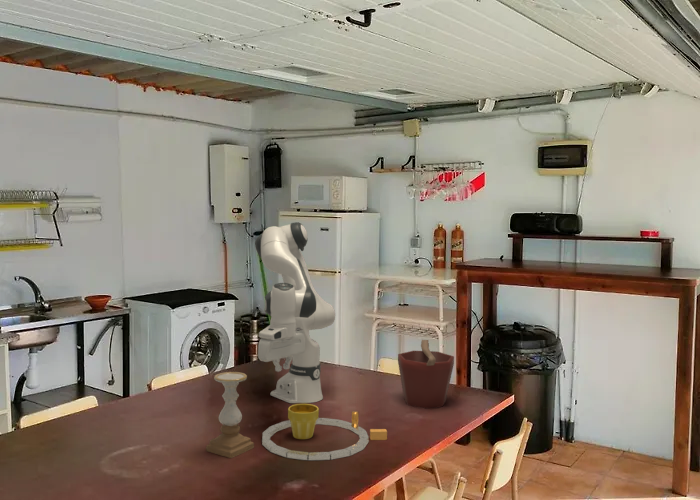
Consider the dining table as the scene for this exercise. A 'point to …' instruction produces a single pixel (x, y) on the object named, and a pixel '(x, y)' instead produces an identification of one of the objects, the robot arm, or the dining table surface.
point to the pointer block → (378, 434)
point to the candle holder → (230, 420)
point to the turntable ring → (318, 455)
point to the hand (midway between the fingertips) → (282, 369)
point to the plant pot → (303, 420)
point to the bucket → (425, 376)
